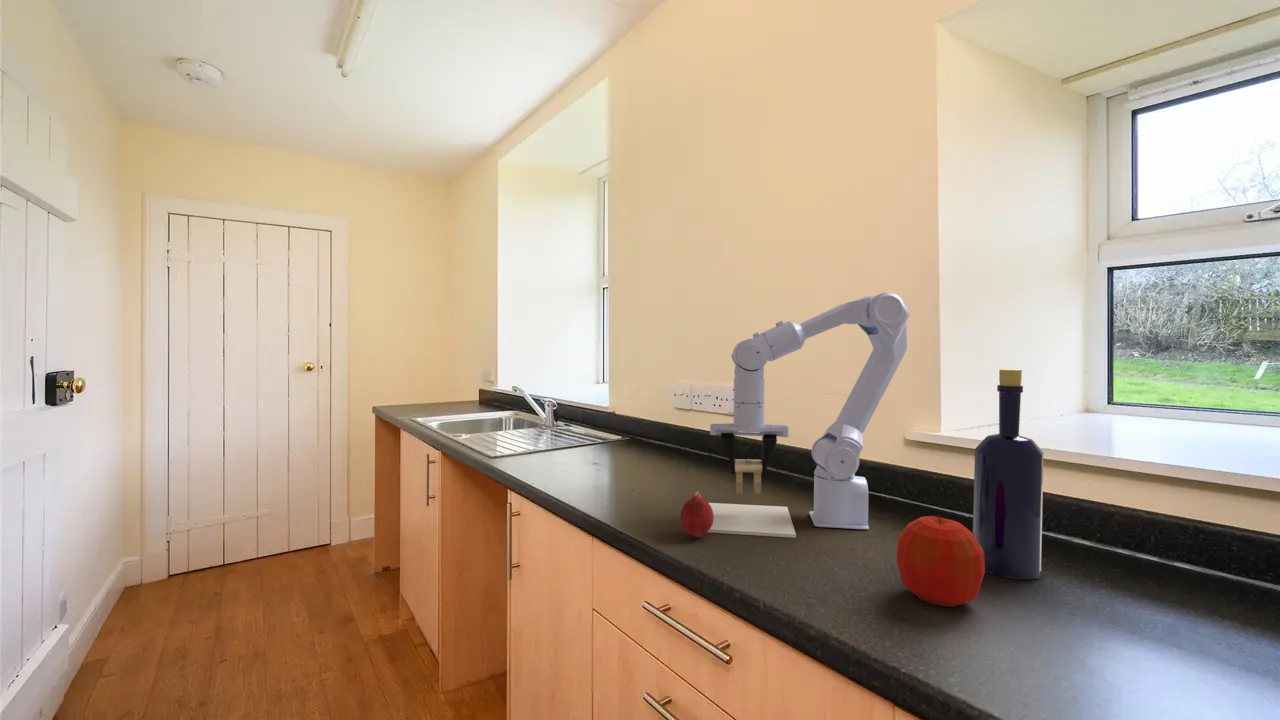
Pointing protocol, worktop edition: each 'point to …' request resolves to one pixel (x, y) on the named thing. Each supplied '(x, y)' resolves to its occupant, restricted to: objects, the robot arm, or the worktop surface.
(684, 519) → the onion
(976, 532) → the bottle
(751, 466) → the stool
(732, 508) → the mat
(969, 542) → the apple
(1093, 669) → the worktop surface
